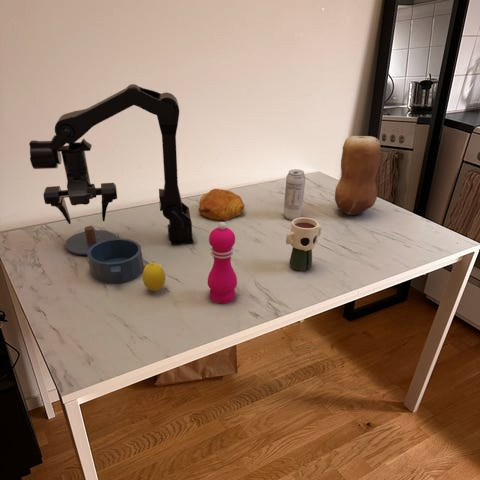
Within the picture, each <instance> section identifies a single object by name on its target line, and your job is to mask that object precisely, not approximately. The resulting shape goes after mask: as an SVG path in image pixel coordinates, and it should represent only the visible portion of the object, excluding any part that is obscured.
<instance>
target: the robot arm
mask: <svg viewBox="0 0 480 480" xmlns="http://www.w3.org/2000/svg"><path fill="white" fill-rule="evenodd" d="M133 106H135V107H138V108H139V109H142V110H144V111H146V112H148V113H150V114H152V115H155V116H156V118H157V121H158V126H159V130H160V135H161V143H162V145H161V146H162V160H163V161H162V163H163V178H164V185H163V188H158V198H159V211H160V212H162V215H163V217H164V218H165V219H167V220H168V224H167V235H168V240H169V241H170V243H171V245H172V246H178V245H179V246H180V245H188V244H194V238H193V222H192V219H191V212H190V207H189V206H187V205H186V204H185V203H184V202H183V201H182V197H181V192H180V188H179V180H178V158H177V157H178V155H177V154H178V153H177V131H178V126H179V119H180V106H179V102H178V99H177V97H176V96H175V95H174V94H173V93H170V92H167V91H165V92H162V93H160V92H158V91H155V90H152V89H149V88H148V89H147V88H144V87H141V86H138V85H137V84H135V83H131V84H129V85H128V86H126V87H125V88H124V89H121V90H119V91H118V92H116V93H114V94H111V95H110V96H108V97H106V98H105V99H102V100H101V101H99V102H96V103H95V104H93V105H91V106H89V107H87V108H84V109H78V110H74V111H71V112H67V113H64V114H62V115H60V117H59V118H58V119H57V121H56V123H55V125H54V134H55V135H53V137H52V138H51V140H34V139H33V140H30V142H29V143H28V144H29V161H30V165H31V167H32V169H34V170H46V169H47V170H48V169H50V170H51V169H58V167H59V165H62V162H63V167H64V171H65V176H66V181H67V182H66V189H62V188H61V186H60V185H55V186H53V185H52V186H46V187H45V188H44V190H43V201H44V204H45V205H50V206H51V207H55V208H57V209H58V210H59V212H60V213H61V214H62V216H63V217H64V219H65V220H66V222H67V223H68V224H69V225H71V224H72V222H71V216H70V213H69V209H68V206H67V203H66V200H65V199H66V198H68V199H69V203H70V205H71V206H77V205H78V206H79V205H84V206H86V205H87V206H88V205H89V204H90V202H91V201H90V200H93V199H95V198H97V196H101V217H102V222H105V220H106V213H107V209H108V206H109V204H110V203H113V201H114V200H117V199H118V191H117V190H118V189H117V184H115V182H101V183H100V187H96V184H95V183H91V179H90V174H89V168H88V167H89V166H88V163H87V162H88V161H87V157H86V152H90V151H91V149H92V146H93V145H92V144H91V143H90V142H88V141H87V140H86V139H85V138H82V137H84V136H85V134H87V133H88V132H89V131H90V130H91V129H92V128H93V127H95V126H97V125H98V124H100V123H102V122H104V121H106V120H108V119H110V118H113V117H114V116H116V115H117V114H119V113H122V112H123V111H125V110H127V109H129V108H131V107H133ZM81 138H82V140H81V141H78V140H79V139H81Z"/></svg>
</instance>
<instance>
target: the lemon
mask: <svg viewBox="0 0 480 480" xmlns="http://www.w3.org/2000/svg"><path fill="white" fill-rule="evenodd" d="M143 268H144V269H143V272H142V277H141V278H142V282H143V285H144V286H145V288H147V289H148V290H150V291H154V292H157V291H159V290H160V289H162V288H163V287H164V285H165V283H166V273H165V270H164V268H163V267H162V265H160V264H159V263H156V262H151V263H148V264H147V265H146V266H144V267H143Z"/></svg>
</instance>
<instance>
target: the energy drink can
mask: <svg viewBox="0 0 480 480" xmlns="http://www.w3.org/2000/svg"><path fill="white" fill-rule="evenodd" d="M306 179H307V178H306V175H305V171H304V170H301V169H296V168H295V169H294V168H293V169H290V170H288V173H287V175H286V177H285V187H284V202H283V212H282V213H283V216H284V218H285V219H287V220H290V221H293V220H294V219H296V218H301V217H302V215H303V206H304V196H305V186H306Z"/></svg>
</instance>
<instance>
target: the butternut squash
mask: <svg viewBox="0 0 480 480" xmlns="http://www.w3.org/2000/svg"><path fill="white" fill-rule="evenodd" d="M381 147H382V146H381V143H380V140H379V139H378V138H376V137H375V136H370V135H364V136H363V135H352V136H349V137H346V138H345V140H344V143H343V145H342V152H341V159H340V171H341V173H340V174H341V175H340V178H339V181H338V183H337V185H336V186H335V191H334V201H335V204H336V207H337V208H338V209H339V210H341V211H342V212H343V213H344V214H347V215H352V216H359V215H361V214H362V213H364V212H366V211H368V209H371V208H372V207H373V206H374V205H375V203H376V202H377V201H376V200H377V199H378V198H377V197H378V189H377V183H376V180H377V174H378V171H379V167H380V163H381V155H382V154H381V152H382V148H381Z"/></svg>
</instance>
